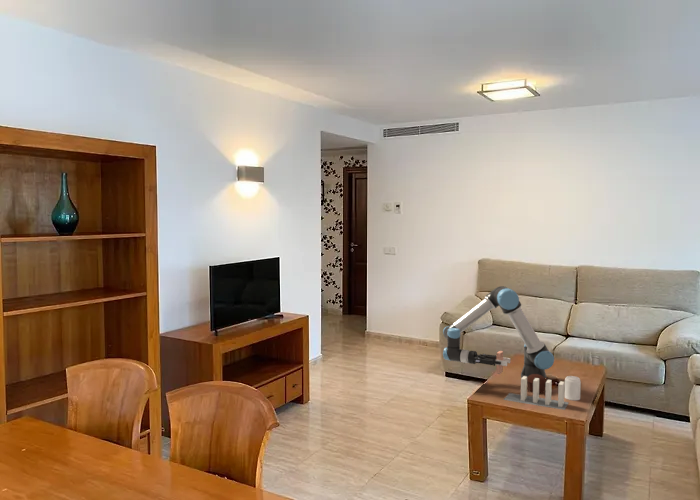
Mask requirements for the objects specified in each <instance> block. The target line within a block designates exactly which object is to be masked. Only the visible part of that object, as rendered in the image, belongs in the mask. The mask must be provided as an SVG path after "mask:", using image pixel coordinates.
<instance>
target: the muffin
mask: <svg viewBox="0 0 700 500" xmlns="http://www.w3.org/2000/svg"><path fill="white" fill-rule="evenodd" d="M535 378H539V394H544V393H545V392H546V381H547V380H548V379H547V378H546V379H545V377H543V376H542V375H539V374H532V375H529V376H528V377H527V392H528V391H529V393H533V380H534V379H535Z"/></svg>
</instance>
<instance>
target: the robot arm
mask: <svg viewBox="0 0 700 500" xmlns="http://www.w3.org/2000/svg"><path fill="white" fill-rule="evenodd" d="M519 298H520V297H519V295H518V293H517V292H516V291H515V290H513V289H512V288H508V287H506V286H503V285H500V286H497V287H495V288H493V290H491V291H490V292H489V293H488V294H486V295H485V296H484V299H483V300H481V301H480V302H479V303H477V304H476V305H475V306H473V307H472V308H471V309H470V310H468V311H467V312H466V313H465V314H463V315H462V316H461V317H459V318H458V319H457V320H456V321H454V322H453V323H452V324H450V325H448V326H445V327H444V328H443V330H442V333H443V337H444V338H445V339H446V340H447V341H446V342H447V345H446V347H444V349H443V351H442V357H443V359H444V360H446V361H450V362H457V363H463V364H472V365H475V364H483V365H488V366H493V367H495V366H496V365H502V366H503V367H508V364H511V358H509V357H503V360H497V354H496V355H495V354H486V353H482V354H481V353H479V354H478V352H477V350H470V349H462V348H461V333H462V332H464V331H465V330H466V329H468V328H469V327H470V326H472V325H473V324H474V323H476V322H477V321H479V320H480V319H481V318H482V317H483V316H485V315H486V314H488V313H489V312H490V311H491V310H493V309H494V310H496V308H498V307H500V310H501V311H502V313H503V314H504V315H507V316H508V318H509V319H510V321H511V323H512V324H513V327H514V328H515V329H516V332H517V333H518V335H519V337H520V338H521V340H522V342H523V343H524V345H523V360H524V361H523V368H522V369H521V371H520V379H521V378H522V377H523V376H526V377H528V376H529V375H532V374H539V375H542V376H543V377H545V378H546V379H547V373H546V371H545V370H548V369H550V368H551V367H552V366H553V365H554V362H555V356H554V355H553V352H551V351H550V350H549V349H548V347H547V345H546V343H545V342H544V341H541V340H540V338H539V337H538V335H537V333H536V331H535V330H534V328H533V327H532V324H531V323H530V321H529V320H528V318H527V316H526V315H525V313H524V311H523V310H522V303H521V301H520V299H519Z"/></svg>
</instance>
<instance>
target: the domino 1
mask: <svg viewBox="0 0 700 500" xmlns="http://www.w3.org/2000/svg"><path fill="white" fill-rule="evenodd" d="M496 356H497V360H503V358H504V351H503V350H499V351H498V352H496ZM495 366H496V369H495V373H496V375H501V374H502V373H503V368H504V366H502V365H495Z"/></svg>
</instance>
